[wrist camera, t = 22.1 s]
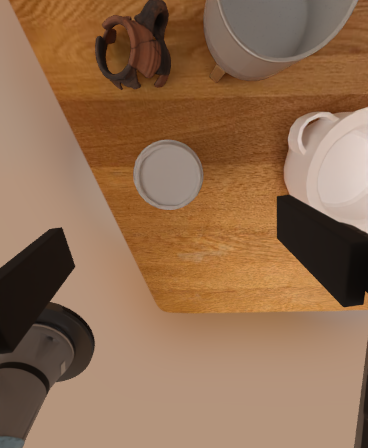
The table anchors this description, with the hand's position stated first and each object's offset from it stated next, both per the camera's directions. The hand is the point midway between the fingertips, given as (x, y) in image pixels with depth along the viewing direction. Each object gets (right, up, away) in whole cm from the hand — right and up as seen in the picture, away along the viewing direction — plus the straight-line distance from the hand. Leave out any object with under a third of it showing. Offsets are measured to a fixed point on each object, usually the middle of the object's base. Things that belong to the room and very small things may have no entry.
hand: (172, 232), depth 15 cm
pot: (+26, +11, +29) cm, 41 cm away
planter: (+9, +28, +22) cm, 37 cm away
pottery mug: (-6, +26, +23) cm, 35 cm away
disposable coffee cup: (-2, +11, +29) cm, 31 cm away
